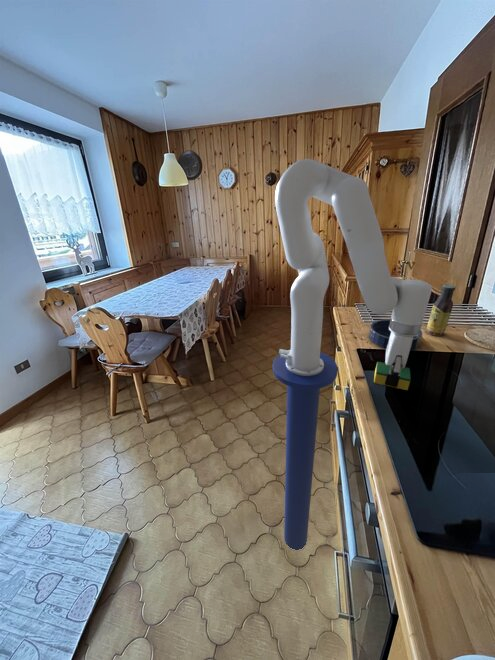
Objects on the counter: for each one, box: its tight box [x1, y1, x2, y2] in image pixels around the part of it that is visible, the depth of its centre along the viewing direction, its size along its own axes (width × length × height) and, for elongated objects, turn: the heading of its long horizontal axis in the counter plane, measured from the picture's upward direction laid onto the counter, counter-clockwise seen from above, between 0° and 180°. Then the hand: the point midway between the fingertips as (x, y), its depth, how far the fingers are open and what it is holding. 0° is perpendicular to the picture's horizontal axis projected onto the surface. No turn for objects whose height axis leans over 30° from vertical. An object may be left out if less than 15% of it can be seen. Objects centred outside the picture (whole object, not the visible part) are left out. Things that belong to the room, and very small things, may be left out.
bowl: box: [368, 319, 423, 351], centre depth 108 cm, size 18×18×5 cm
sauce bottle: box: [426, 283, 457, 337], centre depth 108 cm, size 7×6×20 cm
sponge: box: [373, 361, 412, 391], centre depth 85 cm, size 9×6×4 cm, turn 65°
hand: (391, 378), depth 85 cm, fingers closed on sponge, 6 cm apart
